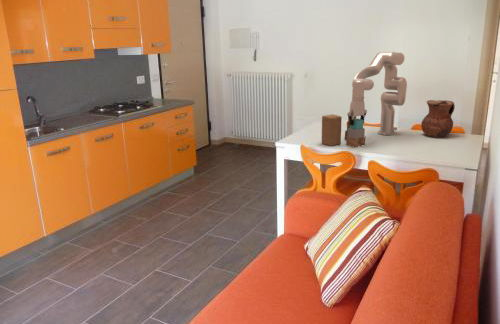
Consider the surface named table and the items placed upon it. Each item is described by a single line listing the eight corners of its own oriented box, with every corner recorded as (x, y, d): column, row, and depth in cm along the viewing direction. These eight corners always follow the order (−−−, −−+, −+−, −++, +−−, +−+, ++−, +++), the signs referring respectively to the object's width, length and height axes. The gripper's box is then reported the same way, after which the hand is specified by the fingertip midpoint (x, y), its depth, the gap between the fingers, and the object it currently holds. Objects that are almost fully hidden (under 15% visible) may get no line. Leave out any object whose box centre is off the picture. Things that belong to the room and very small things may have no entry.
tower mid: (355, 135, 285) (355, 126, 283) (364, 137, 278) (364, 128, 276) (347, 136, 281) (347, 128, 279) (355, 138, 274) (356, 130, 272)
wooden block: (329, 146, 280) (330, 117, 274) (321, 143, 289) (321, 115, 283) (341, 144, 284) (342, 116, 279) (332, 141, 293) (332, 114, 287)
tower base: (355, 143, 287) (355, 134, 285) (365, 145, 280) (365, 137, 278) (346, 145, 283) (346, 136, 281) (355, 147, 275) (355, 139, 274)
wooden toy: (353, 140, 294) (354, 106, 286) (344, 139, 298) (345, 105, 290) (362, 136, 304) (364, 102, 297) (354, 135, 309) (356, 102, 301)
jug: (443, 140, 285) (447, 104, 278) (414, 135, 300) (417, 102, 293) (457, 134, 299) (461, 100, 291) (429, 130, 314) (432, 98, 307)
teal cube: (356, 127, 282) (356, 118, 280) (362, 128, 277) (363, 119, 275) (350, 128, 279) (350, 119, 277) (356, 129, 274) (357, 121, 272)
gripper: (363, 97, 279) (361, 121, 284) (344, 99, 271) (343, 124, 276) (371, 98, 273) (370, 123, 278) (352, 101, 264) (351, 126, 270)
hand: (356, 124), depth 277 cm, fingers open, 9 cm apart
